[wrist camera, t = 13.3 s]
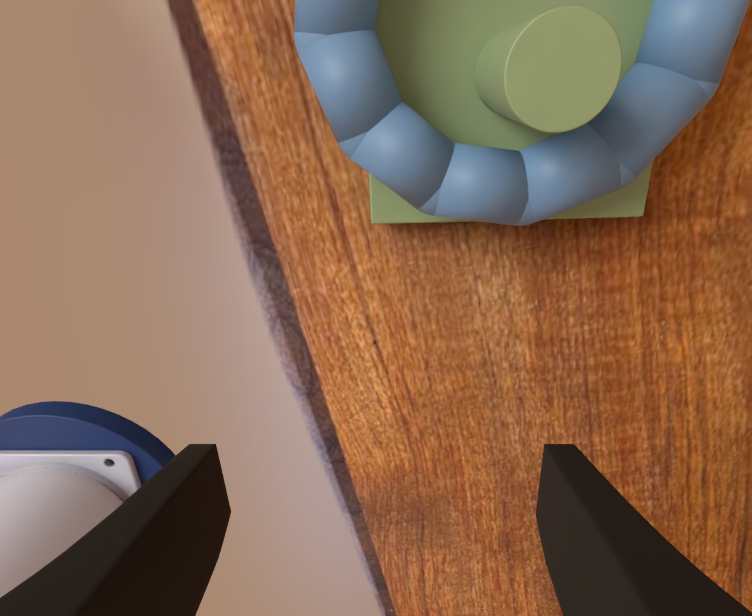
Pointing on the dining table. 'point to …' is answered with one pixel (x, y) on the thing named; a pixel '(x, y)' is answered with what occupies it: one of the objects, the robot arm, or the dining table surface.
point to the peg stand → (510, 78)
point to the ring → (504, 166)
